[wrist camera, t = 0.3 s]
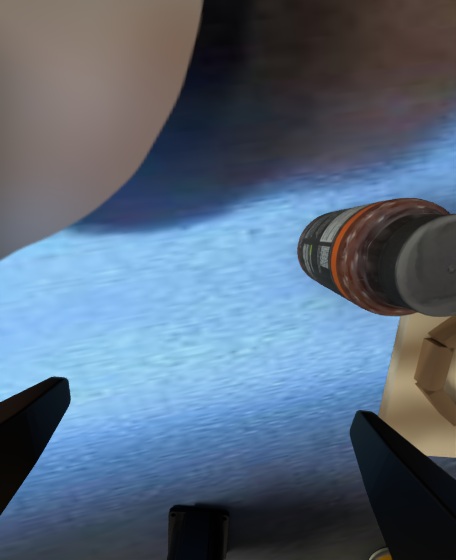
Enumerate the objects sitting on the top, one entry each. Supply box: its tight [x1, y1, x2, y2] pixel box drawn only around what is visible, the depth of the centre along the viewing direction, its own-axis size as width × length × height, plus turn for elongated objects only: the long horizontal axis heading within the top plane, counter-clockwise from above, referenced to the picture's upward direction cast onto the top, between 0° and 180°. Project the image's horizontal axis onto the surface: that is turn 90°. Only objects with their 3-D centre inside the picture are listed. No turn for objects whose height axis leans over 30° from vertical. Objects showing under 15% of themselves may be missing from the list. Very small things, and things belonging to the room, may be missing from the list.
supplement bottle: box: [297, 198, 456, 317], centre depth 14 cm, size 6×6×11 cm
